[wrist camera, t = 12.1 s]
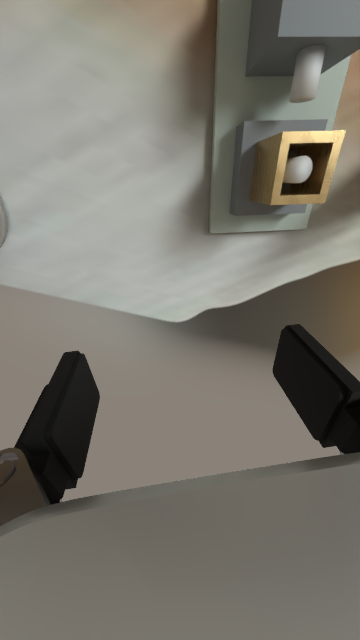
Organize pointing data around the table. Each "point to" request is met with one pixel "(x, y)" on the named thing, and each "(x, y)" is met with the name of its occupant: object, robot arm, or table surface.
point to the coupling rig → (273, 97)
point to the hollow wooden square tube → (273, 161)
